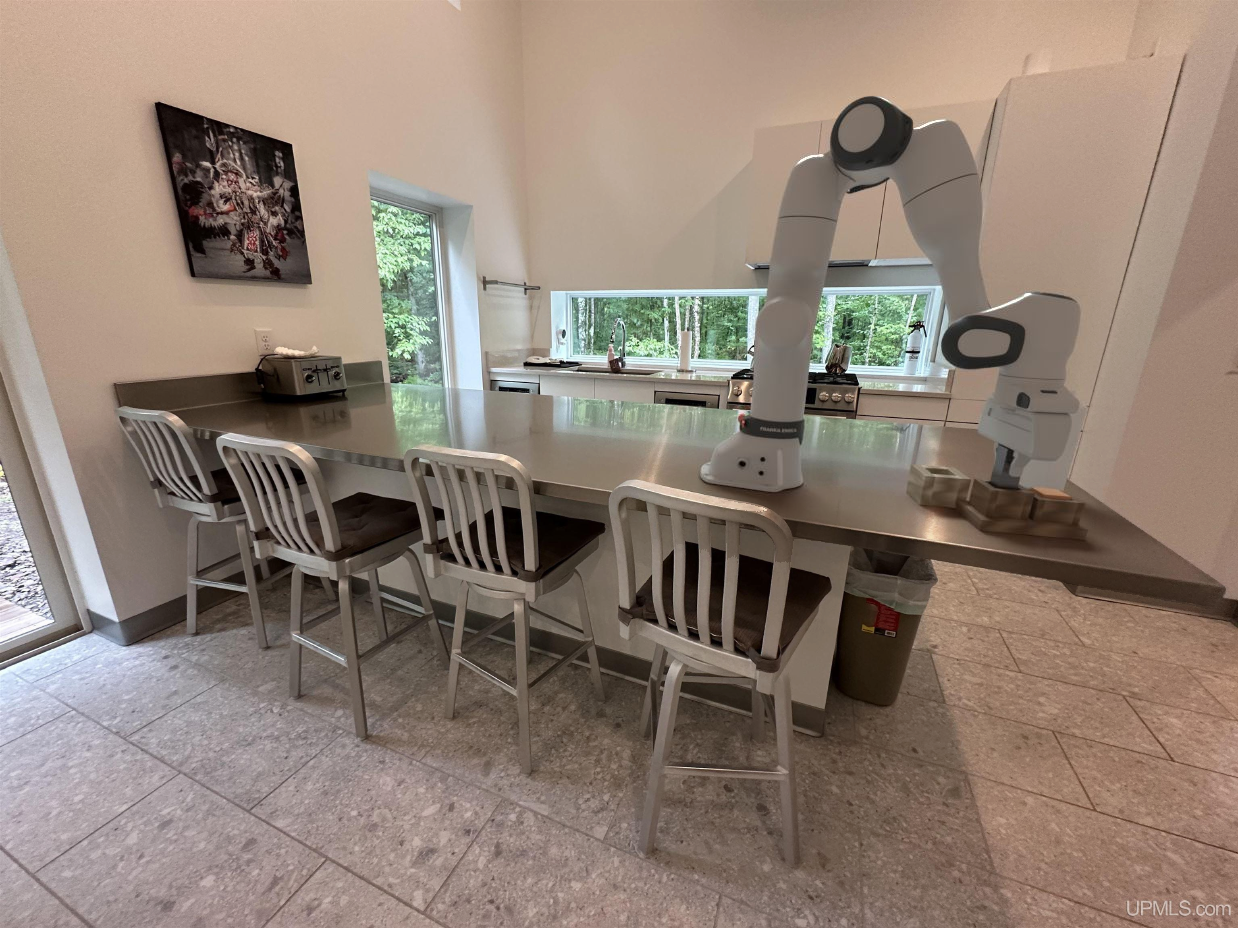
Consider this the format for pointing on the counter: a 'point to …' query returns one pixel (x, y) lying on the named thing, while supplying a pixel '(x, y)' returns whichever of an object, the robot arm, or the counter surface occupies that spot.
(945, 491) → the beige hollow block
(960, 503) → the socket base
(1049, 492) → the button
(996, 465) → the steel peg
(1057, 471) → the milk
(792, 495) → the counter surface
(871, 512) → the counter surface
